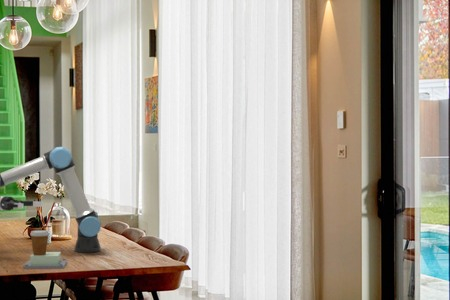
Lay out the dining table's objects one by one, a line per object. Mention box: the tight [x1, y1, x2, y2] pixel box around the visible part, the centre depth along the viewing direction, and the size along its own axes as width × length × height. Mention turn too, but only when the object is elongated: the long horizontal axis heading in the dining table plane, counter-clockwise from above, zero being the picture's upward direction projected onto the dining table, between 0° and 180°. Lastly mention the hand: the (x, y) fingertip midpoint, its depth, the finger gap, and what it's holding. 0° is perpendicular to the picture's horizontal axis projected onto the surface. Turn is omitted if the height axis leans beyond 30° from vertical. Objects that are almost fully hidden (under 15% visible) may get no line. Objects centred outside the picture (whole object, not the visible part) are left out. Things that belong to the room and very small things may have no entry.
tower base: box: [22, 251, 68, 270], centre depth 401 cm, size 20×20×6 cm
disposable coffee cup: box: [29, 229, 50, 255], centre depth 399 cm, size 10×10×12 cm
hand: (32, 205), depth 409 cm, fingers open, 13 cm apart
